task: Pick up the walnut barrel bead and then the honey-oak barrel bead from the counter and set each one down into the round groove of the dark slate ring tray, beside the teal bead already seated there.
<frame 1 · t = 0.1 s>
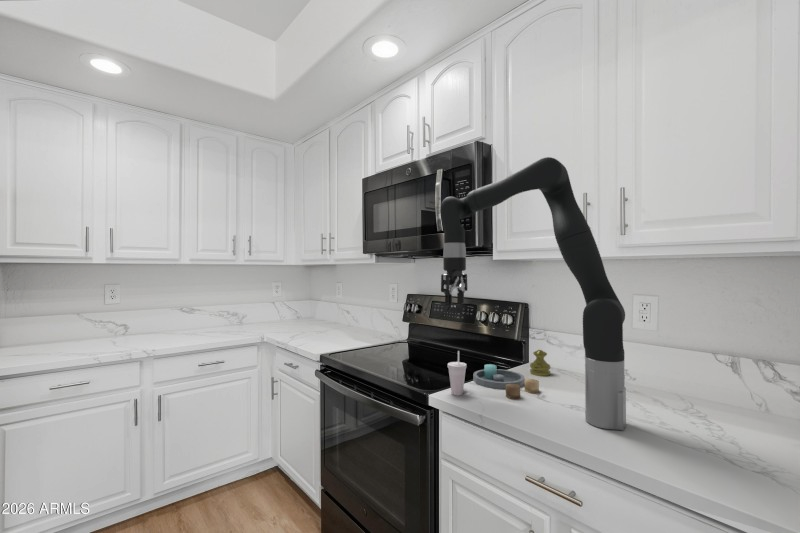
hand: (454, 304, 127), 29 cm above the worktop, tool pointing down, fingers open, 8 cm apart
smoothie: (457, 394, 124), on the worktop
ring tray: (498, 383, 134), on the worktop
walnut bead: (513, 399, 118), on the worktop
olive chess piece: (540, 376, 144), on the worktop
teal bead: (490, 377, 138), point 1 cm above the worktop, touching ring tray
oak bead: (531, 394, 123), on the worktop
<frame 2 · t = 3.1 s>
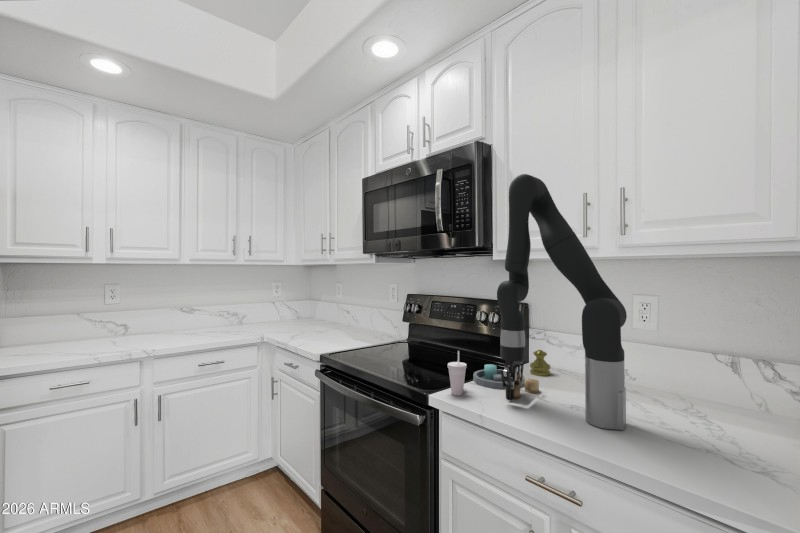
hand: (512, 398, 118), 1 cm above the worktop, tool pointing down, fingers closed on walnut bead, 4 cm apart
walnut bead: (512, 399, 118), on the worktop, touching gripper
everything else where it was.
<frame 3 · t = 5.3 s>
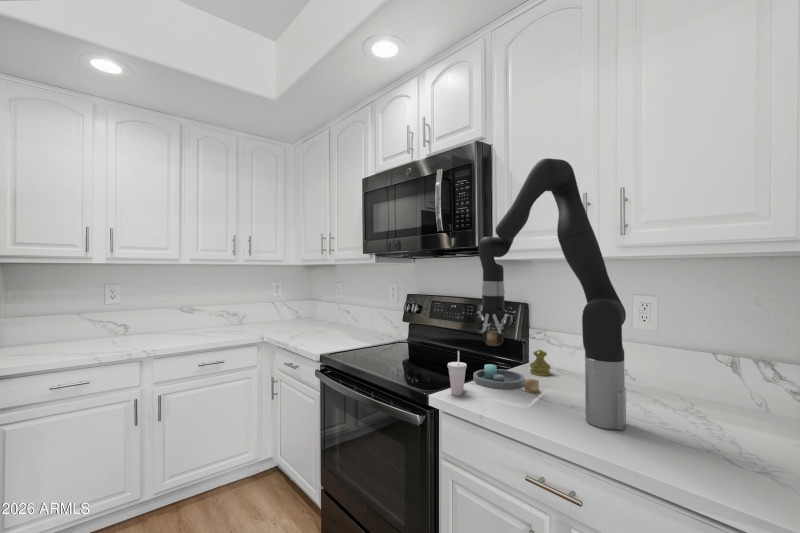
hand: (493, 343, 131), 15 cm above the worktop, tool pointing down, fingers closed on walnut bead, 4 cm apart
walnut bead: (493, 344, 131), point 15 cm above the worktop, touching gripper
everything else where it was.
when the fingers open (3 cm above the worktop, at t = 7.4 s): walnut bead drops 2 cm, resting on ring tray.
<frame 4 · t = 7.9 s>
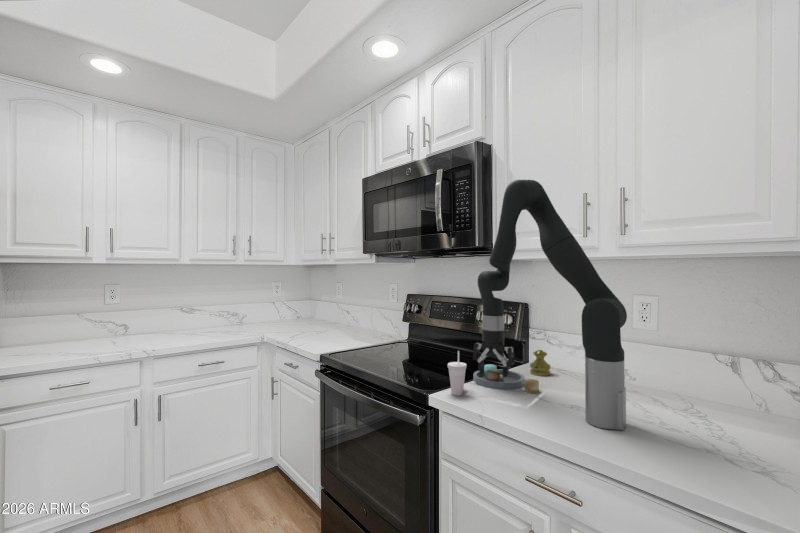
hand: (493, 374, 130), 4 cm above the worktop, tool pointing down, fingers open, 8 cm apart
walnut bead: (493, 384, 130), point 1 cm above the worktop, touching ring tray
everything else where it was.
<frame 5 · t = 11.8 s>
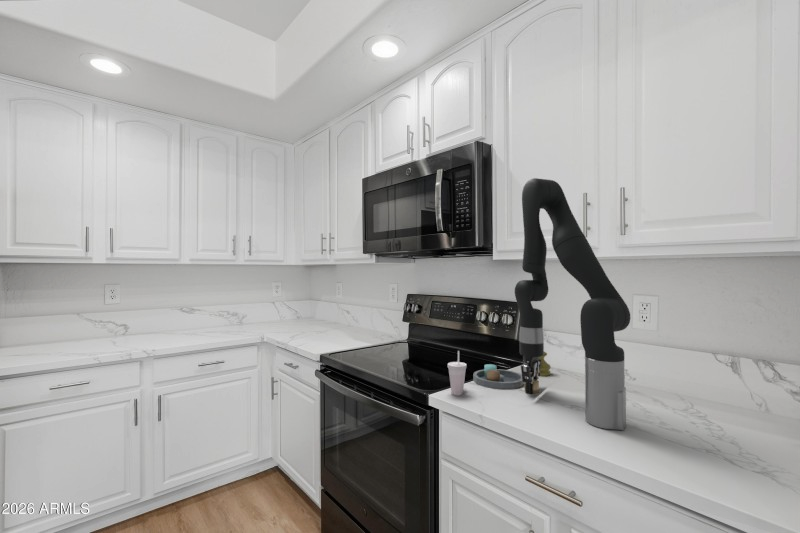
hand: (531, 392, 123), 1 cm above the worktop, tool pointing down, fingers closed on oak bead, 4 cm apart
oak bead: (531, 394, 123), on the worktop, touching gripper
everything else where it was.
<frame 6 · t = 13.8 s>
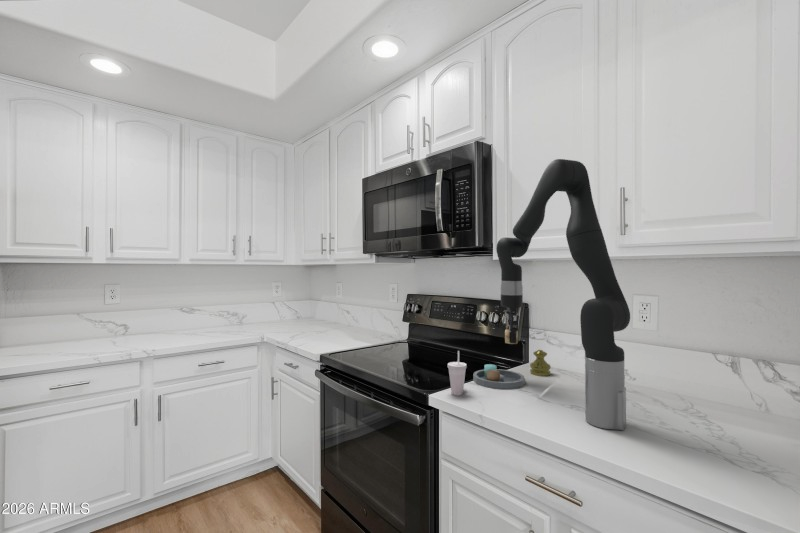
hand: (511, 341, 134), 15 cm above the worktop, tool pointing down, fingers closed on oak bead, 4 cm apart
oak bead: (511, 342, 134), point 15 cm above the worktop, touching gripper
everything else where it was.
when the fingers open (3 cm above the worktop, at t = 15.9 s): oak bead drops 2 cm, resting on ring tray.
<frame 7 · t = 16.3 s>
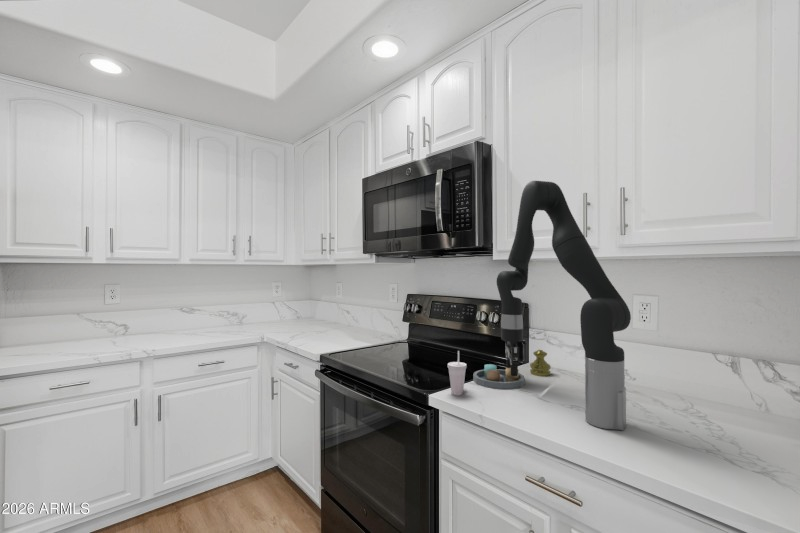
hand: (512, 372, 134), 4 cm above the worktop, tool pointing down, fingers open, 8 cm apart
oak bead: (512, 381, 133), point 1 cm above the worktop, touching ring tray
everything else where it was.
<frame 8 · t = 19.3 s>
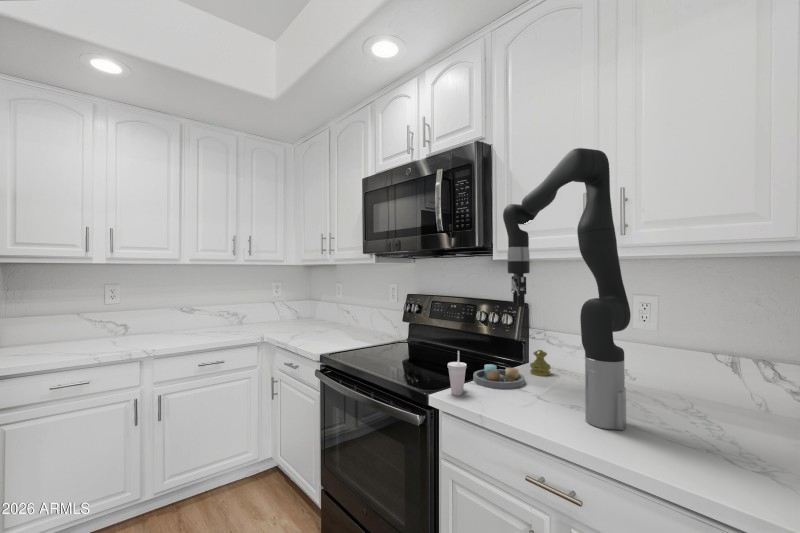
hand: (518, 305, 134), 28 cm above the worktop, tool pointing down, fingers open, 8 cm apart
nothing on the worktop moved.
at the end: walnut bead 0.0 cm from the target spot, point 1.0 cm above the worktop; oak bead 0.2 cm from the target spot, point 1.0 cm above the worktop; walnut bead tilted 0° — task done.
